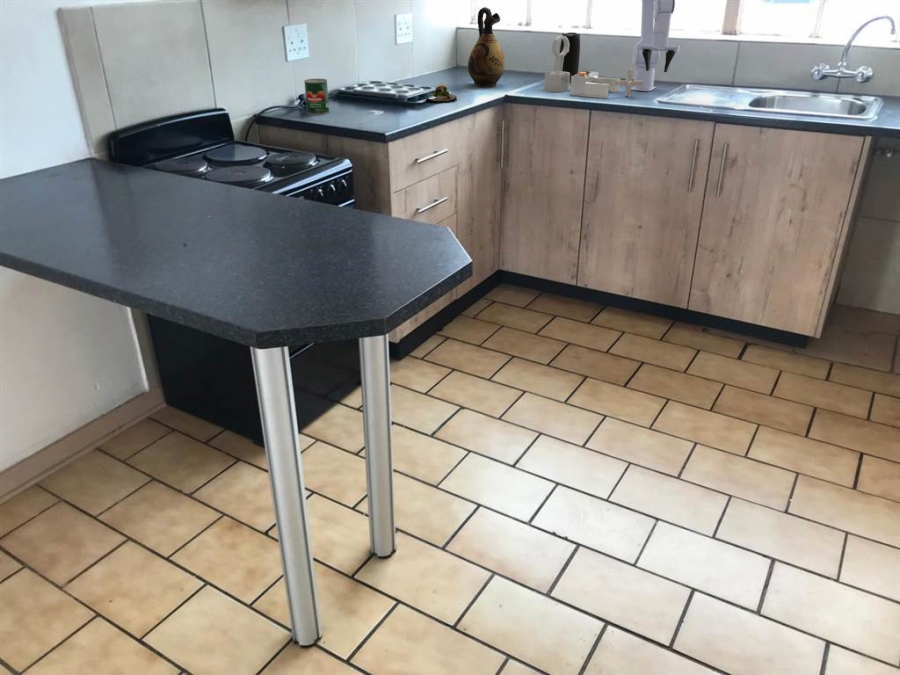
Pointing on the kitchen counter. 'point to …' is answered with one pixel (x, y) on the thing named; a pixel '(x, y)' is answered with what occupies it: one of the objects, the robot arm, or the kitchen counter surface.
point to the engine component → (558, 69)
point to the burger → (442, 94)
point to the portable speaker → (571, 54)
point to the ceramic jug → (486, 53)
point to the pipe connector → (629, 82)
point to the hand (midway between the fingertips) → (656, 71)
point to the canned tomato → (316, 96)
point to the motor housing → (592, 85)
